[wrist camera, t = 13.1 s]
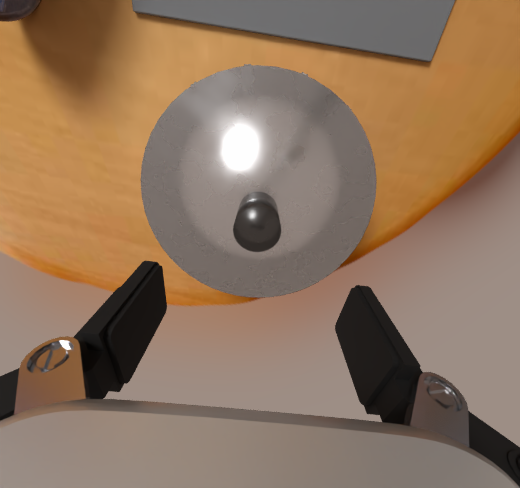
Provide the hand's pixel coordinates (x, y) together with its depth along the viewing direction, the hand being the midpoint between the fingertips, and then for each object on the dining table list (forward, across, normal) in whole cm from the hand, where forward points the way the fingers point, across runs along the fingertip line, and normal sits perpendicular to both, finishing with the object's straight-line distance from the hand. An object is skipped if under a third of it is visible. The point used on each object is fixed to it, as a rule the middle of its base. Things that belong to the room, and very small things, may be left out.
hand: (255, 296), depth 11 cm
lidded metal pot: (+21, 0, 0) cm, 21 cm away
